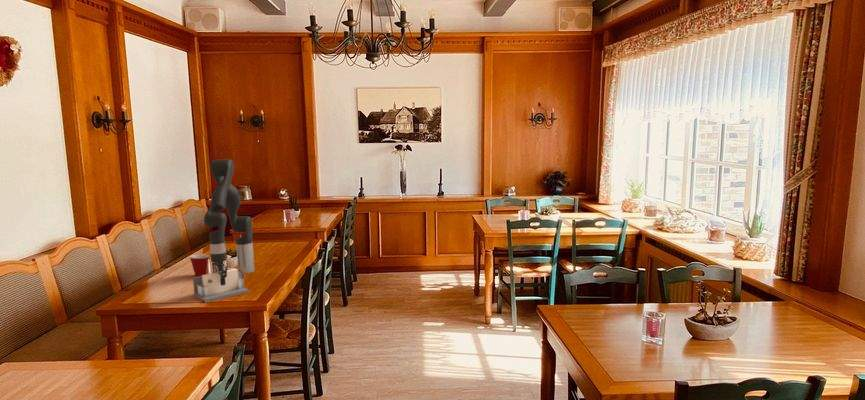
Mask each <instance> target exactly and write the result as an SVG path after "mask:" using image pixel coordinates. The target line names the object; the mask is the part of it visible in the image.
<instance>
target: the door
mask: <svg viewBox="0 0 865 400" xmlns="http://www.w3.org/2000/svg"><path fill="white" fill-rule="evenodd" d="M237 280H238V269H236V268H235V269H230V270H227V277H225V285H221V283H220V275H219V274H218V272H215V273H214V272H210V273H206V274H205V275H202V282H203V287H205V286H208V289H209V295H211V294H215V293H220V292H224V291H228V290H233V289H237V288H238V284H237Z"/></svg>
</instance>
